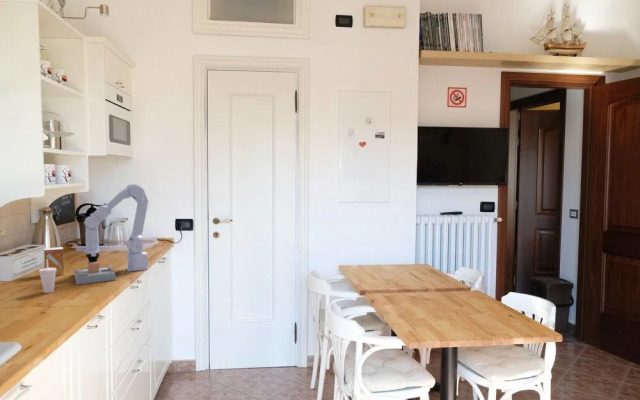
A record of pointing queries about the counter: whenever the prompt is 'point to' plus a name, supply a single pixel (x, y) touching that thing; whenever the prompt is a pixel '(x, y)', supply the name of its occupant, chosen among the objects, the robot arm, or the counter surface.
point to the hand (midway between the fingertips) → (93, 268)
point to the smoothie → (48, 278)
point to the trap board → (94, 276)
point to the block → (93, 267)
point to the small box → (54, 259)
